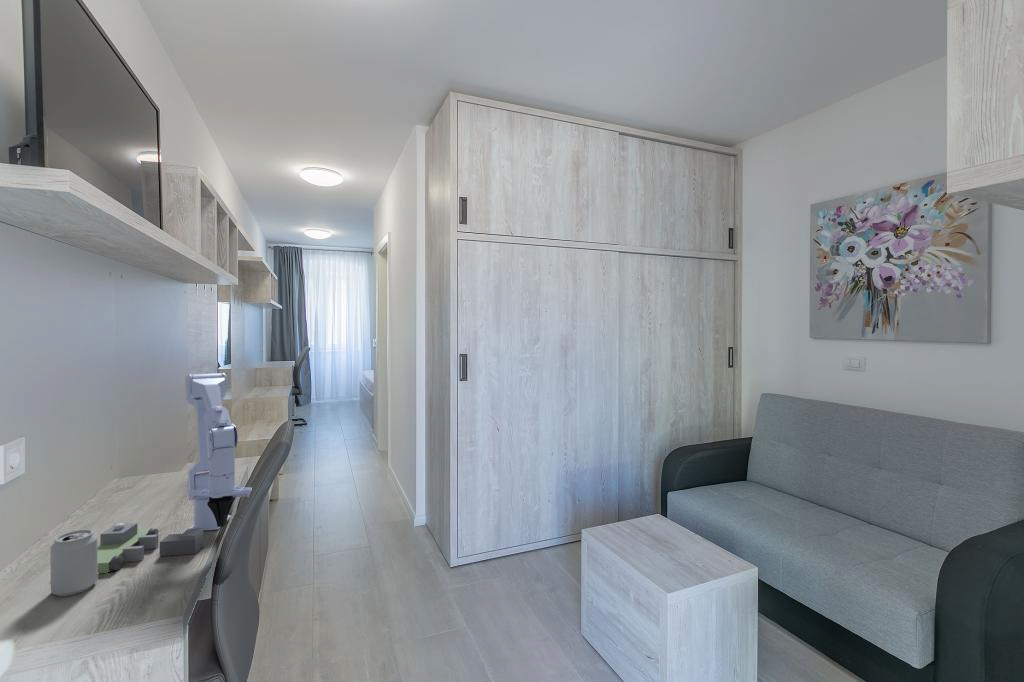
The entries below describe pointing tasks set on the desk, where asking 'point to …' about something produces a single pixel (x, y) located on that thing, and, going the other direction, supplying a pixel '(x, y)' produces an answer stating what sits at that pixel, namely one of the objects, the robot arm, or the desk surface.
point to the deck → (124, 545)
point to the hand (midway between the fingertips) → (221, 525)
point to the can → (74, 562)
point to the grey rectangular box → (182, 543)
